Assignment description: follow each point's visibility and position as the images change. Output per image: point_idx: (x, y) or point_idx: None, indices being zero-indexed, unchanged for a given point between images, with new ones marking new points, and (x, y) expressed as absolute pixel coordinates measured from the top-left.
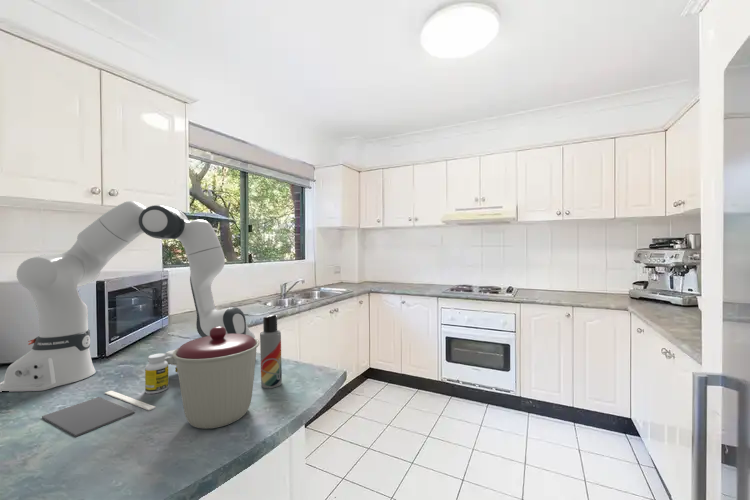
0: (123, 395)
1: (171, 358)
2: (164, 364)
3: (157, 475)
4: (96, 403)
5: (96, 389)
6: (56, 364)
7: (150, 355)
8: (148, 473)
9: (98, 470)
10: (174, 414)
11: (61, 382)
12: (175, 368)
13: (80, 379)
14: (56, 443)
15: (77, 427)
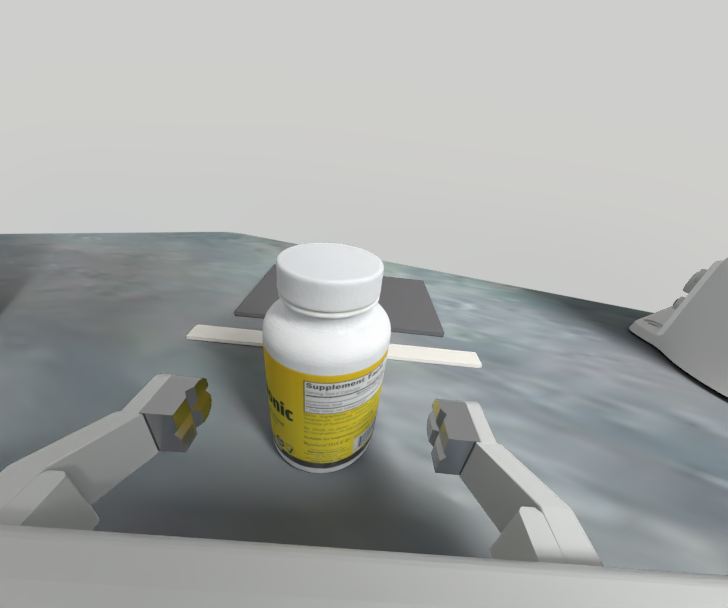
0: (390, 354)
1: (522, 551)
2: (267, 318)
3: (20, 243)
4: (394, 315)
5: (546, 365)
6: (709, 288)
7: (373, 255)
8: (42, 244)
9: (145, 244)
10: (77, 330)
11: (668, 345)
12: (205, 383)
13: (708, 384)
14: None
15: None
